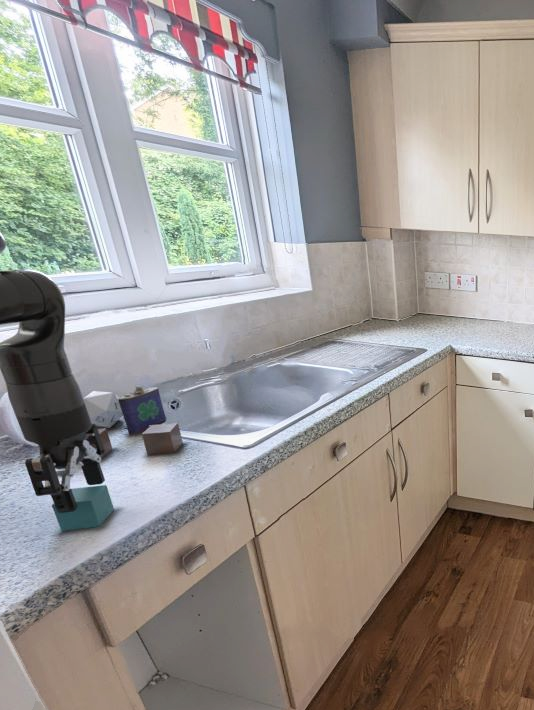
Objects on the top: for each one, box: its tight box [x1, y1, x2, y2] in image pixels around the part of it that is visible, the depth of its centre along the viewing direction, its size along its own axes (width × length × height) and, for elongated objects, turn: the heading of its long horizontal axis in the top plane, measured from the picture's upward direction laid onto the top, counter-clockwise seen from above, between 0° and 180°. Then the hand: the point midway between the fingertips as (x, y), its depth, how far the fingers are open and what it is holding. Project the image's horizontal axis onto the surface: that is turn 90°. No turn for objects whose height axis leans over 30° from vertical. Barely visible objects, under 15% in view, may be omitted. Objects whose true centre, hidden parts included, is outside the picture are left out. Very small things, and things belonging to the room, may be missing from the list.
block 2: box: [141, 422, 184, 456], centre depth 100 cm, size 5×5×5 cm
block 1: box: [90, 427, 114, 460], centre depth 96 cm, size 5×5×5 cm
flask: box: [118, 385, 167, 436], centre depth 109 cm, size 9×3×11 cm, turn 171°
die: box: [83, 390, 124, 429], centre depth 109 cm, size 8×9×10 cm
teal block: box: [51, 484, 115, 532], centre depth 75 cm, size 5×5×5 cm
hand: (83, 496), depth 75 cm, fingers open, 8 cm apart
